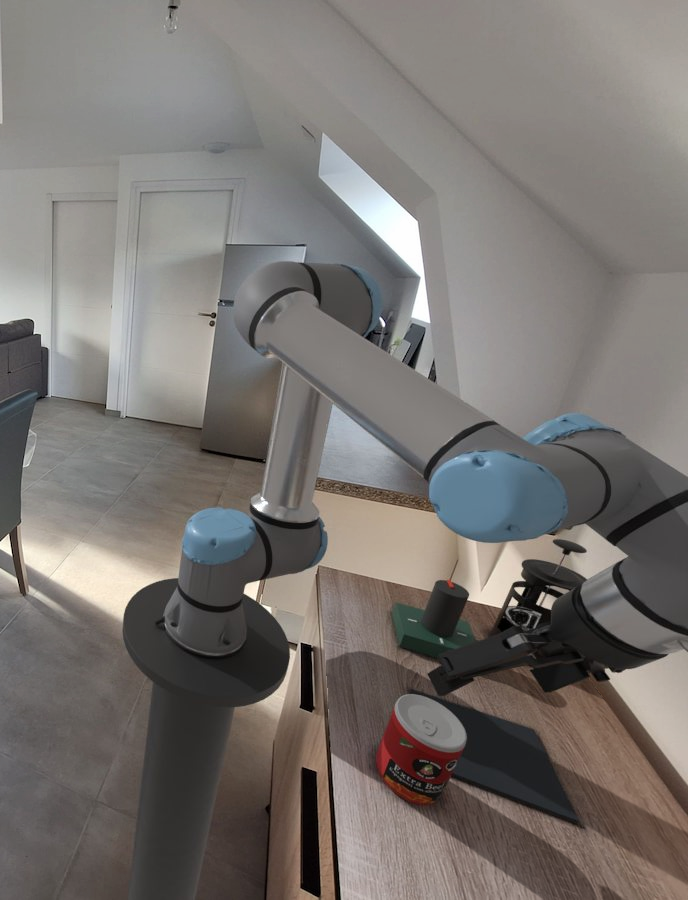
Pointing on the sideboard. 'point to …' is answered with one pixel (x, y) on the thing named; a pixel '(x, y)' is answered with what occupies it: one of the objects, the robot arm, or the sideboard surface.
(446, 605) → the knob
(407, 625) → the panel
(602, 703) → the sideboard surface
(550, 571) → the french press
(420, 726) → the canned food
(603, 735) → the sideboard surface
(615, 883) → the sideboard surface
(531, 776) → the mat
